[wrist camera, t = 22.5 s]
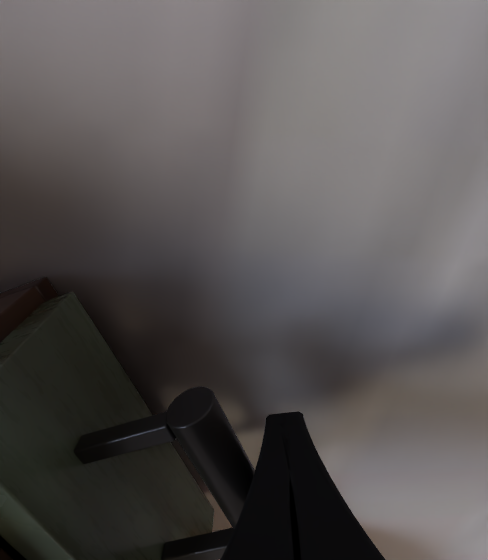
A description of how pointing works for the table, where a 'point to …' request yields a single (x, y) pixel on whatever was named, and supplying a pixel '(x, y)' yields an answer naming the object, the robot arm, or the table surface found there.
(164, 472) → the drawer
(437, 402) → the table surface
